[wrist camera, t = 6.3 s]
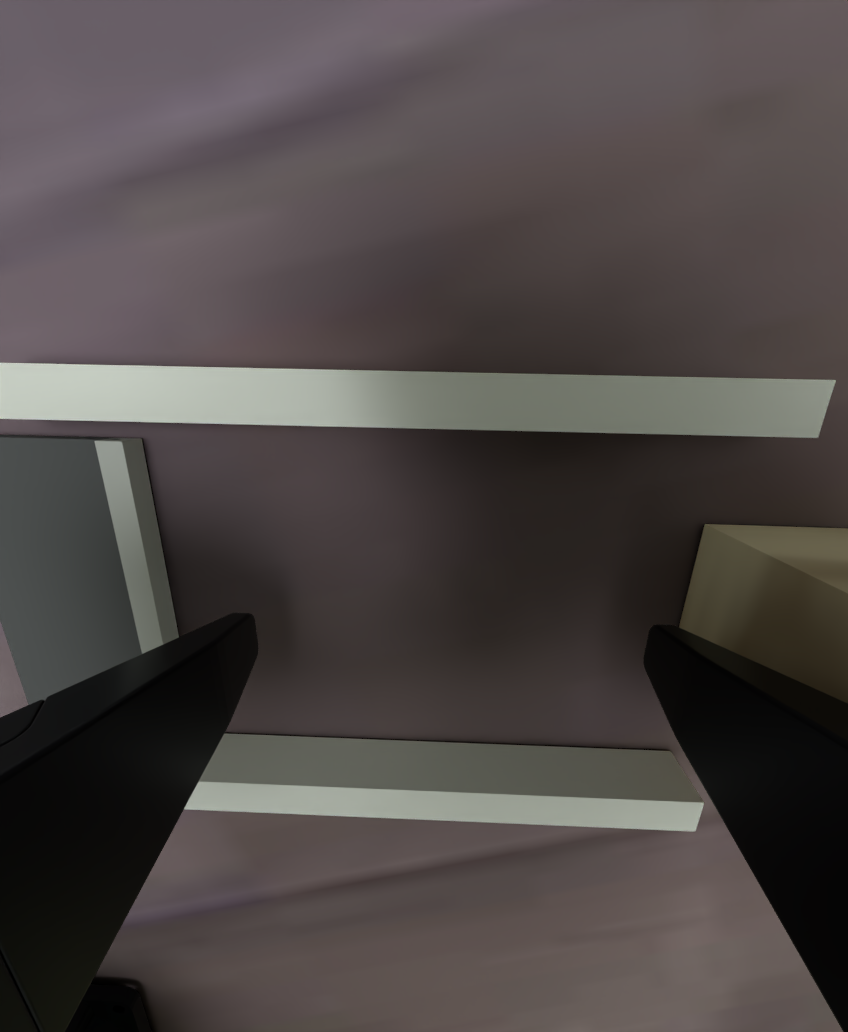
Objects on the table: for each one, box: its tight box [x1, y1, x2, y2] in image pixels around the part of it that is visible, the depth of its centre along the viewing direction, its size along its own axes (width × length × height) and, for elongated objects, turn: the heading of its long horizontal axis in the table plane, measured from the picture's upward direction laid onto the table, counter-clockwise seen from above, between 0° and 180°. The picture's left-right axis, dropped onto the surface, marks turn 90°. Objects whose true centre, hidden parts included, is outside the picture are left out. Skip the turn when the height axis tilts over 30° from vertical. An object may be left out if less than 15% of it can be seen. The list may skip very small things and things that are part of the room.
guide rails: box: [0, 363, 836, 831], centre depth 10 cm, size 11×16×2 cm
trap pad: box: [0, 435, 179, 705], centre depth 10 cm, size 8×4×1 cm, turn 179°
